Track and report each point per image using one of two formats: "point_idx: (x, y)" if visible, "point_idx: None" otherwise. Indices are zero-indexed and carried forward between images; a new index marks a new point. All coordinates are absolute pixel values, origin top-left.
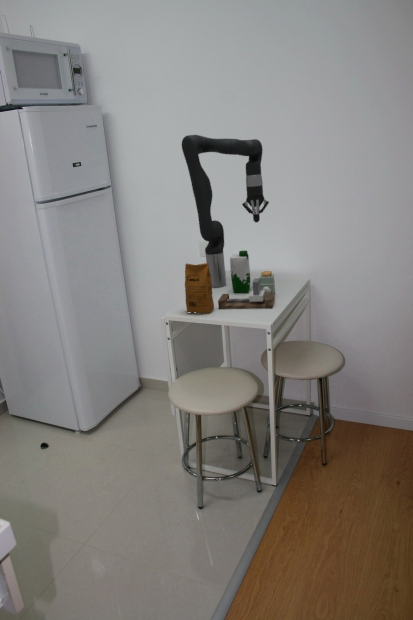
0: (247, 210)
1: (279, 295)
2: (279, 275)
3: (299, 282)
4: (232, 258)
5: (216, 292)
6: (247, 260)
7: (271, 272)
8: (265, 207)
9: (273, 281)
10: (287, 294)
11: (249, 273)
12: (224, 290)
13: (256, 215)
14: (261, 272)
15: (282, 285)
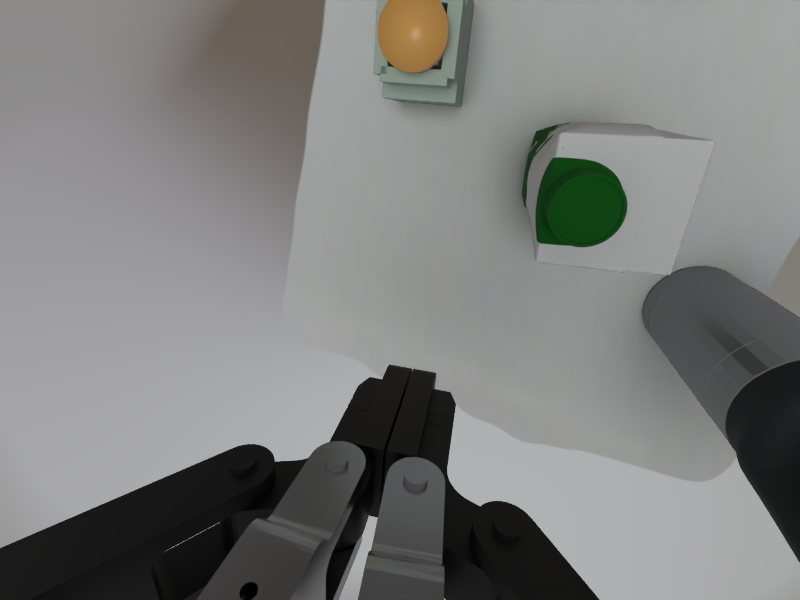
0: (585, 595)
1: None
2: None
3: (306, 260)
4: (690, 138)
5: (716, 177)
6: (545, 162)
7: (378, 23)
8: (77, 515)
9: None
10: (343, 80)
11: (528, 173)
12: None
13: (377, 434)
14: (446, 36)
15: (372, 232)
